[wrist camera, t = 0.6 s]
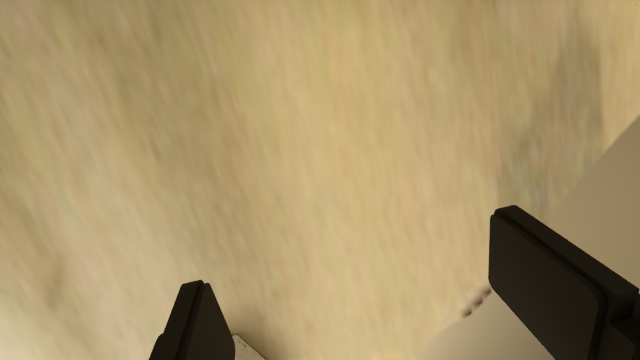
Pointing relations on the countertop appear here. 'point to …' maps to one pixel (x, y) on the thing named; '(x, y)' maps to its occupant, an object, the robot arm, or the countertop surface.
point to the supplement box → (244, 350)
